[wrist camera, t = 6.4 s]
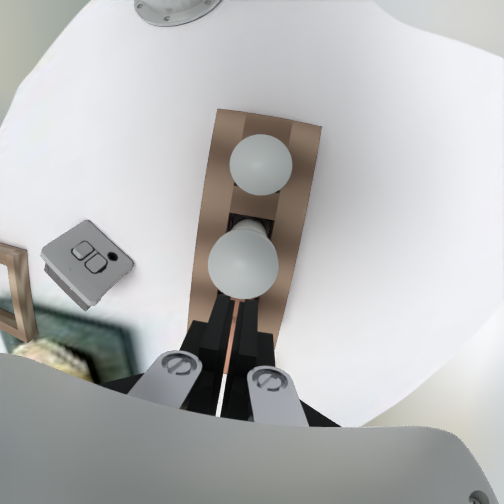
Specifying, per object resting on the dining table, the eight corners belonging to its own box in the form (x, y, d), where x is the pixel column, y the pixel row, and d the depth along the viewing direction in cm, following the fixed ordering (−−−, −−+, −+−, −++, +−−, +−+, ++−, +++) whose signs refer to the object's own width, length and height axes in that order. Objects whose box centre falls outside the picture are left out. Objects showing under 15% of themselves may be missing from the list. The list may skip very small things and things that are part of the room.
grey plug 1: (243, 143, 31) (235, 129, 21) (285, 151, 31) (297, 140, 21) (235, 185, 32) (224, 190, 22) (278, 192, 32) (286, 200, 22)
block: (224, 119, 30) (217, 108, 25) (311, 134, 31) (321, 126, 25) (197, 311, 37) (186, 334, 31) (272, 324, 37) (274, 349, 31)
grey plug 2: (229, 208, 29) (212, 226, 19) (276, 216, 29) (284, 238, 19) (222, 253, 30) (204, 292, 20) (267, 261, 30) (271, 304, 20)
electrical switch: (136, 262, 35) (99, 295, 27) (120, 288, 37) (84, 322, 28) (88, 217, 34) (43, 237, 25) (74, 244, 36) (32, 268, 27)
